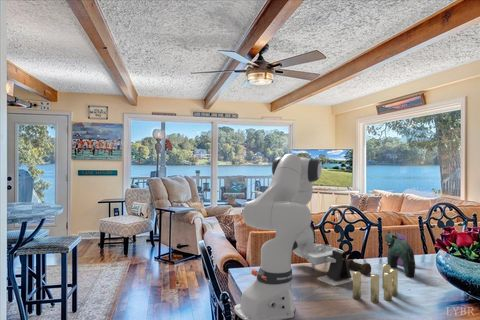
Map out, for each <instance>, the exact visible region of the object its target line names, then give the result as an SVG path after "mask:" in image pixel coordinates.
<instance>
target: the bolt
mask: <svg viewBox="0 0 480 320" xmlns="http://www.w3.org/2000/svg"><path fill="white" fill-rule="evenodd" d="M347 263H348V266H349V270H352V269H354V270H355V271H356V270H357V271H359V272H361V273H362V274H363V275H365V276H368V275H371V274H372V273H371V272H372V265H371V264H370V263H368V262H365V263H363V264H362V263H359V262H355V261H354V260H353V259H352V258H351V259H350V258H349V259H347Z"/></svg>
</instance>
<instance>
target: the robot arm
mask: <svg viewBox="0 0 480 320" xmlns="http://www.w3.org/2000/svg"><path fill="white" fill-rule="evenodd" d="M272 161H273V162H272V165H271V173H272V175H273V176H272V178H271V181H270V183H269V185H268V187H267V188H266V190H264V192H262V193H261V194H260V195H258V196H257V197H256V198H253V199H251V200H249V201H247V202H246V204H245V205H244V207H243V209H242V218H243V221H244V224H245V225H246V226H249V227H251V228H254V229H257V230H264V231H275V237H274V238H271V239H269V240H267V241H265V242H264V243H263V244H262V246H261V247H260V267H259V269H258V270H256V269H254V268H253V269H252V270H251V272H250V273H251V276H254V277H256V279H255V280H253V282H252V283H251V284H250V285H249V286H248V287H247V288H246V289H245V290H243V291H242V293H241V297H240V303H238V304H236V305H234V307H233V311H234V313H235V314H236V315H237V316H238V317H239V318H240V319H242V320H287V319H292V318H294V317H295V313H294V312H295V310H296V304H295V302H294V296H293V290H292V289H293V287H292V281H293V269H292V253H293V254H295V255H296V256H298V257H300V258H303V259H304V260H306V261H307V262H308V263H310V264H312V265H315V266H316V265H317V266H318V265H322V264H327V263H336V259H334V258H332V251H333V249H335V250H336V249H337V250H340V251H343V252H345V251H344V250H342V249H340V248H337V247H335V246H334V247H333V246H332V245H331V244H320V243H315V231H314V228H313V227H312V226H311V223H312V217H313V216H312V212H311V210H310V208H309V207H308V206H307V205H308V204H309V203H310V202H311V200H312V198H313V183H314V182H317V181H318V180H319V179H320V177H321V173H322V165H321V162H320V161H319V159H316V158H313V157H310V158H309V157H308V158H307V157H302V156H301V157H300V156H299V155H298V154H294V153H286V154H284V155H283V156H278V157H276V158H275V159H273V160H272Z"/></svg>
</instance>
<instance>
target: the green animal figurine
mask: <svg viewBox="0 0 480 320" xmlns="http://www.w3.org/2000/svg"><path fill="white" fill-rule="evenodd" d="M395 232H397V233H392V232H390V231H389V230H387V233H386V234H385V236H384V243H385V245H386V246H388V248H387V257H386V258H387V259H386V260H387V264H389V265H390V268H392V269H395V268H398V265H397V262H398V259H399V258H401V260H402V261H403V265H402V266H403V269H404V274H405V277H406V278H415V273H416V260H415V253H414V250H413V247H412V245H411V244H410V243H409V241H408V240H407V241H406V240H405V239H399V237H398V235H397V234H398V233H400V230H399V229H395Z"/></svg>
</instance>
